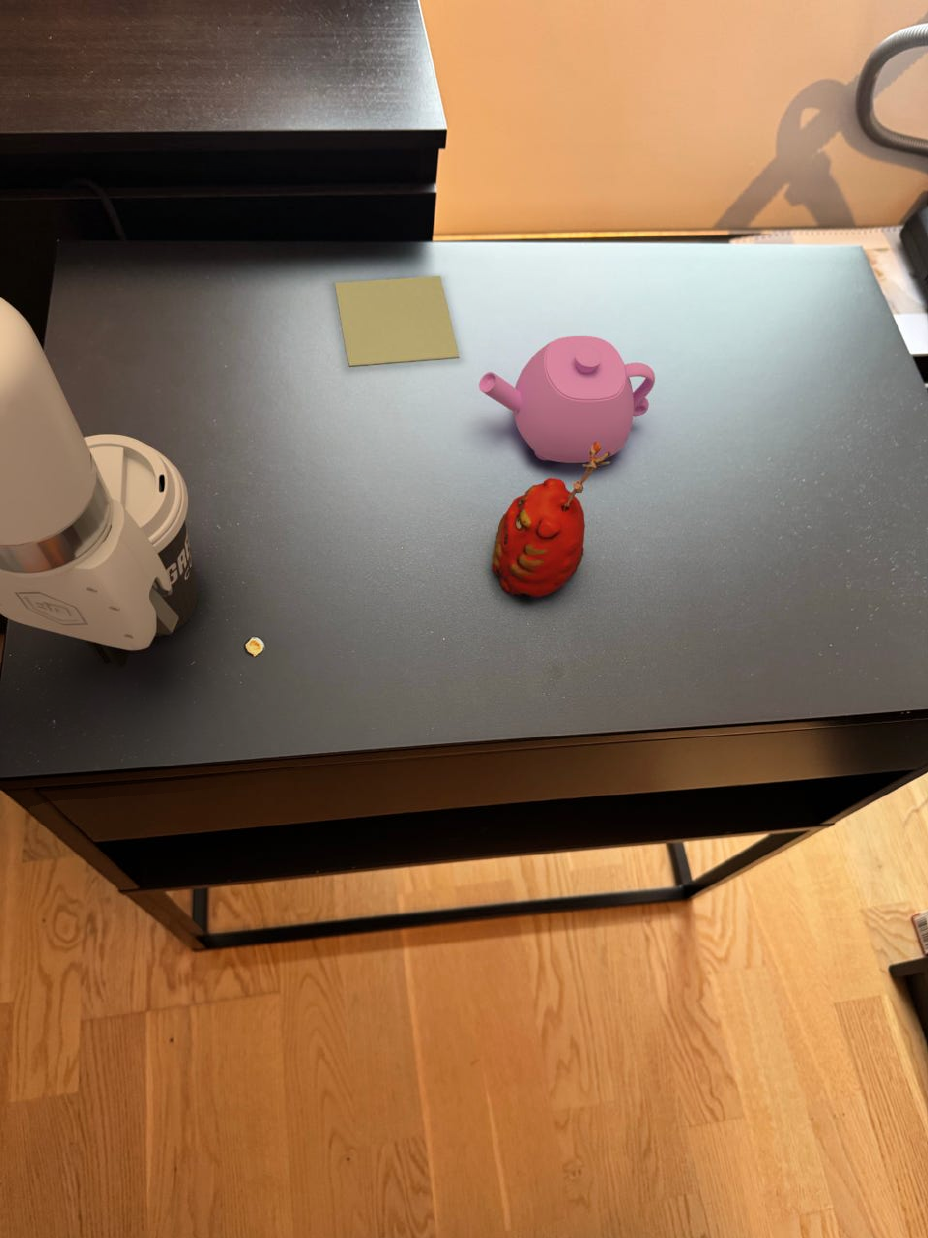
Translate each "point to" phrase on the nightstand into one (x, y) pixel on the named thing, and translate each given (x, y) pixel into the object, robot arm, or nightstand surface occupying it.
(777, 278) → the nightstand surface
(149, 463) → the coffee cup
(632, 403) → the teapot
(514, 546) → the red clay folk toy
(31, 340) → the robot arm
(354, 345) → the mat
